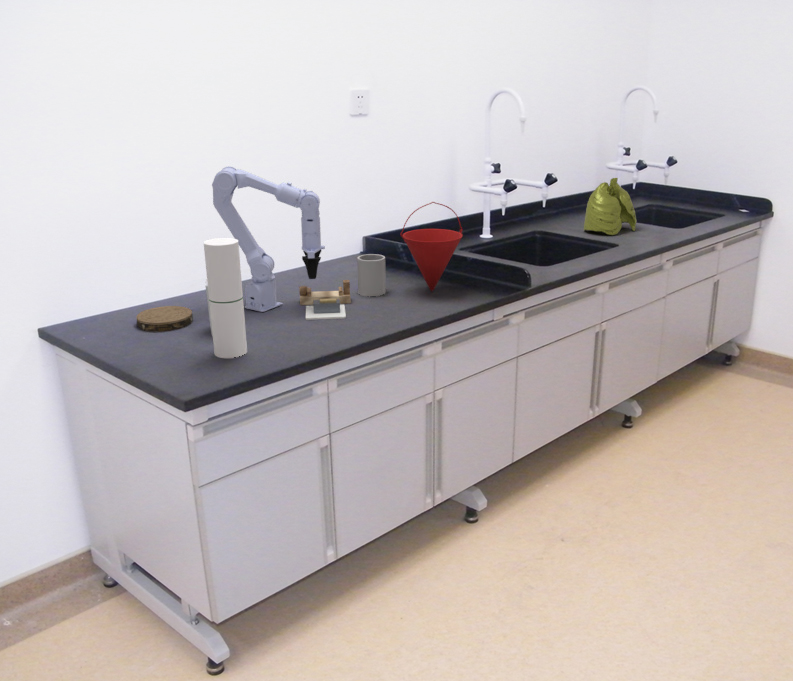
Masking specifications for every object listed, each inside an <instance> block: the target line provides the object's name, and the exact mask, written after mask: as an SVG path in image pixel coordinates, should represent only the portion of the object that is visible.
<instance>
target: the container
mask: <svg viewBox="0 0 793 681" xmlns="http://www.w3.org/2000/svg"><path fill="white" fill-rule="evenodd" d="M203 251H204V261H205V270H206V271H205V272H206V279H207V283H208V293H209V304H210V314H211V324H212V334H213V335H212V340H213V341H212V344H213V352H214V356H215V357H217V358H221V359H235V358H234V357H236V358H239V356H240V357H242V355H243V356H245V355H246V354H247V353H248V346H247V345H248V344H247V333H246V320H245V308H244V307H245V306H244V296H243V295H244V294H243V283H242V270H241V259H240V258H241V256H240V246H239V243H238V240H237V239H235V238H234V237H233V238H232V237H217V238H210V239H207V240H204V241H203ZM244 354H245V355H244Z"/></svg>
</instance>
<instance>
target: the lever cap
mask: <svg viewBox="0 0 793 681" xmlns="http://www.w3.org/2000/svg"><path fill="white" fill-rule="evenodd" d="M340 305H341V304H340V299H320V300H313V305H312V306H313V308H314V314H317V313H340Z"/></svg>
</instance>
